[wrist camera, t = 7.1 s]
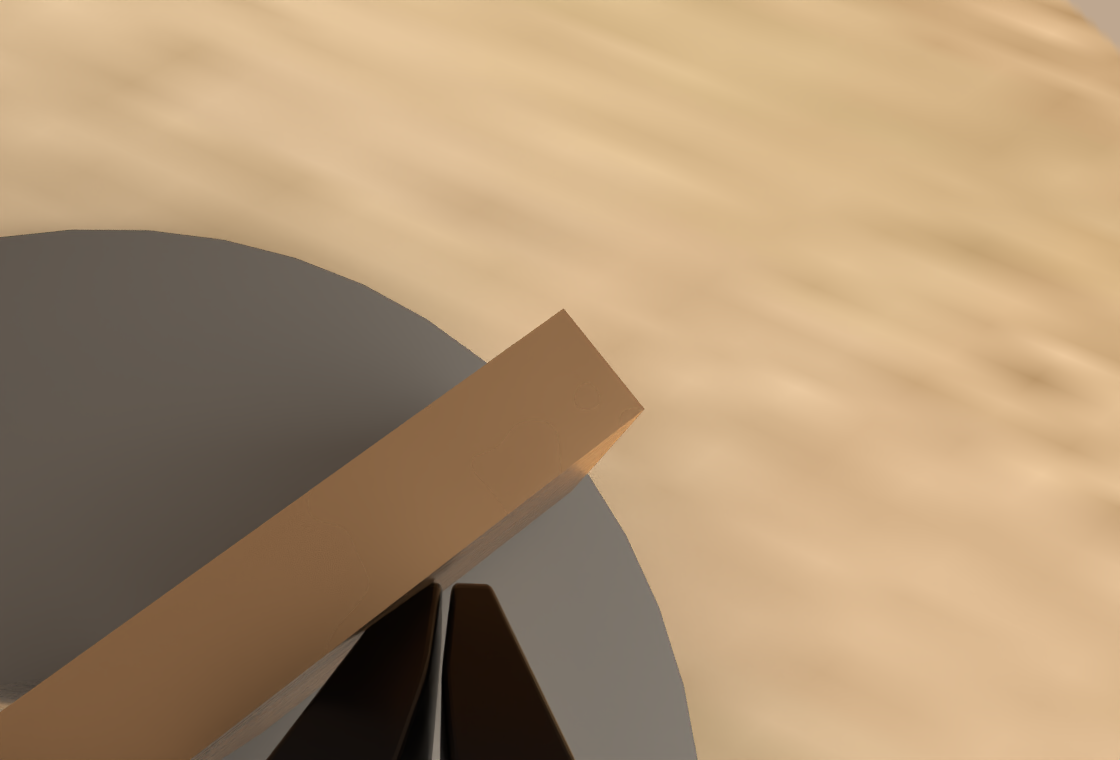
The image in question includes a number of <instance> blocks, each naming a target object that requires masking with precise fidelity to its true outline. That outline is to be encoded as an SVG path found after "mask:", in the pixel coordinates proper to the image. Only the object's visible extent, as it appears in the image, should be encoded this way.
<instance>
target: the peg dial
mask: <svg viewBox="0 0 1120 760" xmlns="http://www.w3.org/2000/svg"><path fill="white" fill-rule="evenodd" d="M643 410H644V408H643V407H642V405H641V404H640V403H639V402H638V400H637V399H636V398H635V397H634V396H633V394H632V393H631V392H630V391H629V389H628V388H627V387H626V386H625V384H624V383H623V382H622V381H621V379H620V378H619V377H618V376H617V374H616V373H615V372H614V371H613V369H612V368H611V367H610V366H609V364H608V363H607V362H606V361H605V359H604V358H603V357H602V356H601V354H600V353H599V352H598V351H597V350H596V348H595V347H594V346H593V345H592V343H591V342H590V341H589V340H588V338H587V337H586V336H585V335H584V333H583V332H582V331H581V330H580V328H579V327H578V326H577V325H576V323H575V322H574V321H573V320H572V318H571V317H570V316H569V315H568V313H567V312H566V311H565V310H564V309H562V310H561V311H560V312H558V313H557V314H555V315H554V316H553V317H551V318H550V319H548V320H547V321H546V322H544V323H543V324H541V325H540V326H539V327H537V328H536V329H534V330H533V331H532V332H530V333H529V334H527V335H526V336H525V337H523V338H522V339H520V340H519V341H518V342H516V343H515V344H513V345H512V346H511V347H509V348H508V349H506V350H505V351H504V352H502V353H501V354H499V355H498V356H497V357H495V358H494V359H492V360H491V361H490V362H488V363H487V364H485V365H484V366H483V367H481V368H480V369H478V370H477V371H476V372H474V373H473V374H471V375H470V376H469V377H467V378H466V379H465V380H463V381H462V382H460V383H459V384H458V385H456V386H455V387H453V388H452V389H451V390H449V391H448V392H446V393H445V394H444V395H442V396H441V397H439V398H438V399H437V400H435V401H434V402H432V403H431V404H430V405H428V406H427V407H425V408H424V409H423V410H421V411H420V412H418V413H417V414H416V415H414V416H413V417H411V418H410V419H409V420H407V421H406V422H404V423H403V424H402V425H400V426H399V427H397V428H396V429H395V430H393V431H392V432H390V433H389V434H388V435H386V436H385V437H383V438H382V439H381V440H379V441H378V442H376V443H375V444H374V445H372V446H371V447H369V448H368V449H367V450H365V451H364V452H363V453H361V454H360V455H358V456H357V457H356V458H354V459H353V460H351V461H350V462H349V463H347V464H346V465H344V466H343V467H342V468H340V469H339V470H337V471H336V472H335V473H333V474H332V475H330V476H329V477H328V478H326V479H325V480H323V481H322V482H321V483H319V484H318V485H316V486H315V487H314V488H312V489H311V490H309V491H308V492H307V493H305V494H304V495H302V496H301V497H300V498H298V499H297V500H295V501H294V502H293V503H291V504H290V505H288V506H287V507H286V508H284V509H283V510H281V511H280V512H279V513H277V514H276V515H274V516H273V517H272V518H270V519H269V520H267V521H266V522H265V523H263V524H262V525H261V526H259V527H258V528H256V529H255V530H254V531H252V532H251V533H249V534H248V535H247V536H245V537H244V538H242V539H241V540H240V541H238V542H237V543H235V544H234V545H233V546H231V547H230V548H228V549H227V550H226V551H224V552H223V553H221V554H220V555H219V556H217V557H216V558H214V559H213V560H212V561H210V562H209V563H207V564H206V565H205V566H203V567H202V568H200V569H199V570H198V571H196V572H195V573H193V574H192V575H191V576H189V577H188V578H186V579H185V580H184V581H182V582H181V583H179V584H178V585H177V586H175V587H174V588H172V589H171V590H170V591H168V592H167V593H165V594H164V595H163V596H161V597H160V598H159V599H157V600H156V601H154V602H153V603H152V604H150V605H149V606H147V607H146V608H145V609H143V610H142V611H140V612H139V613H138V614H136V615H135V616H133V617H132V618H131V619H129V620H128V621H126V622H125V623H124V624H122V625H121V626H119V627H118V628H117V629H115V630H114V631H112V632H111V633H110V634H108V635H107V636H105V637H104V638H103V639H101V640H100V641H98V642H97V643H96V644H94V645H93V646H91V647H90V648H89V649H87V650H86V651H84V652H83V653H82V654H80V655H79V656H77V657H76V658H75V659H73V660H72V661H70V662H69V663H68V664H66V665H65V666H63V667H62V668H61V669H59V670H58V671H57V672H55V673H54V674H52V675H51V676H50V677H48V678H47V679H41V680H29V681H22V682H17V683H12V684H7V685H1V686H0V760H221V759H223V758H224V757H226V756H227V755H229V754H230V753H232V752H233V751H235V750H237V749H238V748H240V747H241V746H243V745H244V744H246V743H247V742H249V741H250V740H252V739H254V738H255V737H257V736H258V735H260V734H261V733H262V732H264V731H265V730H266V729H268V728H269V727H270V726H271V725H273V724H274V723H275V722H276V721H278V720H279V719H280V718H282V717H283V716H284V715H285V714H287V713H288V712H289V711H291V710H292V709H293V708H294V707H296V706H297V705H298V704H300V703H301V702H302V701H303V700H305V699H306V698H307V697H309V696H310V695H311V694H312V693H314V692H315V691H316V690H317V689H319V688H320V687H321V686H323V685H324V684H325V682H326V681H327V680H328V678H329V677H330V676H331V674H332V673H333V672H334V671H335V669H336V668H337V667H338V665H339V664H340V663H341V661H342V660H343V659H344V658H345V656H346V655H347V654H348V652H349V651H350V650H351V648H352V647H353V646H354V645H355V643H356V642H357V641H358V639H359V638H360V637H361V635H362V634H363V633H364V632H365V630H366V629H368V628H369V627H370V626H372V625H373V624H374V623H376V622H377V621H379V620H380V619H381V618H383V617H384V616H386V615H387V614H388V613H390V612H391V611H393V610H394V609H395V608H397V607H398V606H400V605H401V604H402V603H404V602H405V601H407V600H408V599H409V598H411V597H412V596H414V595H415V594H417V593H418V592H419V591H421V590H422V589H424V588H425V587H426V586H428V585H429V584H431V583H432V582H436V583H439V584H440V585H441V587H442V592H443V591H444V590H446V589H447V588H448V587H449V586H451V585H452V584H453V583H455V582H456V581H457V580H458V579H460V578H461V577H462V576H464V575H465V574H466V573H467V572H469V571H470V570H471V569H473V568H474V567H475V566H476V565H478V564H479V563H480V562H481V561H483V560H484V559H485V558H487V557H488V556H489V555H490V554H492V553H493V552H494V551H496V550H497V549H498V548H499V547H501V546H502V545H503V544H505V543H506V542H507V541H508V540H510V539H511V538H512V537H514V536H515V535H516V534H517V533H519V532H520V531H521V530H522V529H524V528H525V527H526V526H528V525H529V524H530V523H531V522H533V521H534V520H535V519H537V518H538V517H539V516H540V515H542V514H543V513H544V512H546V511H547V510H548V509H549V508H551V507H552V506H553V505H555V504H556V503H557V502H558V501H560V500H561V499H562V498H564V497H565V496H566V495H567V494H569V493H570V492H571V491H572V490H573V489H574V488H575V487H576V486H577V485H578V484H579V482H580V481H581V480H582V479H583V478H584V477H585V476H586V474H587V473H588V472H589V471H590V470H591V469H592V468H593V467H594V465H595V464H596V463H597V462H598V461H599V460H600V459H601V458H602V456H603V455H604V454H605V453H606V452H607V451H608V450H609V449H610V447H611V446H612V445H613V444H614V443H615V442H616V441H617V440H618V438H619V437H620V436H621V435H622V434H623V433H624V432H625V431H626V429H627V428H628V427H629V426H630V425H631V424H632V423H633V422H634V420H635V419H636V418H637V417H638V416H639V415H640V414H641V412H642V411H643Z"/></svg>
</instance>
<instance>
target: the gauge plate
mask: <svg viewBox="0 0 1120 760" xmlns="http://www.w3.org/2000/svg"><path fill="white" fill-rule="evenodd" d="M485 364H487V363H486V362H485V361H483V360H482V359H481V358H479V357H478V356H477V355H475V354H474V353H472V352H471V351H470V350H468V349H467V348H466V347H464V346H463V345H461V344H460V343H459V342H457V341H456V340H455V339H453V338H452V337H450V336H449V335H448V334H446V333H445V332H444V331H442V330H441V329H439V328H438V327H437V326H435V325H434V324H433V323H431V322H430V321H428V320H427V319H425V318H424V317H422V316H420V315H418V314H416V313H414V312H413V311H411V310H409V309H407V308H405V307H403V306H402V305H400V304H398V303H396V302H394V301H392V300H391V299H389V298H387V297H385V296H383V295H381V294H380V293H378V292H376V291H374V290H372V289H370V288H368V287H367V286H365V285H363V284H360V283H358V282H355V281H353V280H350V279H348V278H345V277H343V276H340V275H337V274H335V273H332V272H330V271H327V270H325V269H322V268H319V267H317V266H314V265H312V264H309V263H307V262H304V261H302V260H299V259H296V258H293V257H289V256H285V255H281V254H277V253H273V252H269V251H265V250H261V249H257V248H253V247H250V246H246V245H242V244H238V243H234V242H230V241H226V240H220V239H212V238H204V237H196V236H188V235H181V234H173V233H165V232H157V231H147V230H66V231H56V232H47V233H37V234H28V235H18V236H9V237H0V686H1V685H7V684H12V683H17V682H22V681H29V680H41V679H47V678H48V677H50V676H51V675H52V674H54V673H55V672H57V671H58V670H59V669H61V668H62V667H63V666H65V665H66V664H68V663H69V662H70V661H72V660H73V659H75V658H76V657H77V656H79V655H80V654H82V653H83V652H84V651H86V650H87V649H89V648H90V647H91V646H93V645H94V644H96V643H97V642H98V641H100V640H101V639H103V638H104V637H105V636H107V635H108V634H110V633H111V632H112V631H114V630H115V629H117V628H118V627H119V626H121V625H122V624H124V623H125V622H126V621H128V620H129V619H131V618H132V617H133V616H135V615H136V614H138V613H139V612H140V611H142V610H143V609H145V608H146V607H147V606H149V605H150V604H152V603H153V602H154V601H156V600H157V599H159V598H160V597H161V596H163V595H164V594H165V593H167V592H168V591H170V590H171V589H172V588H174V587H175V586H177V585H178V584H179V583H181V582H182V581H184V580H185V579H186V578H188V577H189V576H191V575H192V574H193V573H195V572H196V571H198V570H199V569H200V568H202V567H203V566H205V565H206V564H207V563H209V562H210V561H212V560H213V559H214V558H216V557H217V556H219V555H220V554H221V553H223V552H224V551H226V550H227V549H228V548H230V547H231V546H233V545H234V544H235V543H237V542H238V541H240V540H241V539H242V538H244V537H245V536H247V535H248V534H249V533H251V532H252V531H254V530H255V529H256V528H258V527H259V526H261V525H262V524H263V523H265V522H266V521H267V520H269V519H270V518H272V517H273V516H274V515H276V514H277V513H279V512H280V511H281V510H283V509H284V508H286V507H287V506H288V505H290V504H291V503H293V502H294V501H295V500H297V499H298V498H300V497H301V496H302V495H304V494H305V493H307V492H308V491H309V490H311V489H312V488H314V487H315V486H316V485H318V484H319V483H321V482H322V481H323V480H325V479H326V478H328V477H329V476H330V475H332V474H333V473H335V472H336V471H337V470H339V469H340V468H342V467H343V466H344V465H346V464H347V463H349V462H350V461H351V460H353V459H354V458H356V457H357V456H358V455H360V454H361V453H363V452H364V451H365V450H367V449H368V448H369V447H371V446H372V445H374V444H375V443H376V442H378V441H379V440H381V439H382V438H383V437H385V436H386V435H388V434H389V433H390V432H392V431H393V430H395V429H396V428H397V427H399V426H400V425H402V424H403V423H404V422H406V421H407V420H409V419H410V418H411V417H413V416H414V415H416V414H417V413H418V412H420V411H421V410H423V409H424V408H425V407H427V406H428V405H430V404H431V403H432V402H434V401H435V400H437V399H438V398H439V397H441V396H442V395H444V394H445V393H446V392H448V391H449V390H451V389H452V388H453V387H455V386H456V385H458V384H459V383H460V382H462V381H463V380H465V379H466V378H467V377H469V376H470V375H471V374H473V373H474V372H476V371H477V370H478V369H480V368H481V367H483V366H484V365H485ZM456 583H475V584H488V585H489V586H491V587H492V589H493V590H494V592H495V594H496V596H497V598H498V600H499V602H500V604H501V607H502V609H503V611H504V613H505V615H506V617H507V619H508V621H509V623H510V625H511V627H512V629H513V631H514V633H515V636H516V638H517V640H518V642H519V644H520V646H521V648H522V650H523V652H524V654H525V656H526V658H527V660H528V663H529V665H530V667H531V669H532V671H533V673H534V675H535V677H536V679H537V681H538V683H539V685H540V687H541V690H542V692H543V694H544V696H545V698H546V700H547V702H548V704H549V706H550V708H551V710H552V712H553V714H554V717H555V719H556V721H557V723H558V725H559V727H560V729H561V731H562V733H563V735H564V737H565V739H566V741H567V744H568V746H569V748H570V750H571V752H572V754H573V756H574V758H575V760H697V754H696V749H695V744H694V738H693V733H692V728H691V722H690V717H689V712H688V706H687V701H686V696H685V690H684V685H683V682H682V679H681V676H680V673H679V669H678V666H677V663H676V660H675V657H674V654H673V650H672V647H671V644H670V641H669V638H668V635H667V631H666V628H665V625H664V622H663V619H662V616H661V612H660V609H659V606H658V604H657V602H656V600H655V598H654V595H653V593H652V591H651V589H650V587H649V585H648V582H647V580H646V578H645V576H644V574H643V571H642V569H641V567H640V565H639V563H638V561H637V558H636V556H635V554H634V552H633V550H632V547H631V545H630V543H629V541H628V539H627V536H626V534H625V533H624V531H623V530H622V528H621V526H620V525H619V523H618V522H617V520H616V518H615V517H614V515H613V514H612V512H611V510H610V509H609V507H608V505H607V504H606V502H605V501H604V499H603V497H602V496H601V494H600V493H599V491H598V489H597V488H596V486H595V485H594V483H593V481H592V480H591V478H590V476H589V475H588V473H587V474H586V476H585V477H584V478H583V479H582V480H581V481H580V482H579V484H578V485H577V486H576V487H575V488H574V489H573V490H572V491H571V492H570V493H569V494H567V495H566V496H565V497H564V498H562V499H561V500H560V501H558V502H557V503H556V504H555V505H553V506H552V507H551V508H549V509H548V510H547V511H546V512H544V513H543V514H542V515H540V516H539V517H538V518H537V519H535V520H534V521H533V522H531V523H530V524H529V525H528V526H526V527H525V528H524V529H522V530H521V531H520V532H519V533H517V534H516V535H515V536H514V537H512V538H511V539H510V540H508V541H507V542H506V543H505V544H503V545H502V546H501V547H499V548H498V549H497V550H496V551H494V552H493V553H492V554H490V555H489V556H488V557H487V558H485V559H484V560H483V561H481V562H480V563H479V564H478V565H476V566H475V567H474V568H473V569H471V570H470V571H469V572H467V573H466V574H465V575H464V576H462V577H461V578H460V579H458V580H457V581H456V582H455V583H453V584H452V585H451V586H449V587H448V588H447V589H446V590H444V591H443V592H442V641H441V659H440V671H439V683H438V695H437V707H436V719H435V730H434V742H433V754H432V760H440V726H441V678H442V662H443V653H444V645H445V636H446V628H447V619H448V611H449V602H450V594H451V589H452V587H453V585H455V584H456ZM321 687H322V686H321ZM321 687H320V688H319V689H317V690H316V691H315V692H314V693H312V694H311V695H310V696H309V697H307V698H306V699H305V700H303V701H302V702H301V703H300V704H298V705H297V706H296V707H294V708H293V709H292V710H291V711H289V712H288V713H287V714H285V715H284V716H283V717H282V718H280V719H279V720H278V721H276V722H275V723H274V724H273V725H271V726H270V727H269V728H268V729H266V730H265V731H264V732H262V733H261V734H260V735H258V736H257V737H255V738H254V739H252V740H250V741H249V742H247V743H246V744H244V745H243V746H241V747H240V748H238V749H237V750H235V751H233V752H232V753H230V754H229V755H227V756H226V757H224V758H223V759H221V760H266V759H267V758H268V756H269V755H270V754H271V753H272V751H273V750H274V749H275V747H276V746H277V745H278V743H279V742H280V741H281V740H282V738H283V737H284V736H285V734H286V733H287V732H288V730H289V729H290V728H291V727H292V725H293V724H294V723H295V721H296V720H297V719H298V717H299V716H300V715H301V714H302V712H303V711H304V710H305V708H306V707H307V706H308V704H309V703H310V702H311V700H312V699H313V698H314V697H315V695H316V694H317V693H318V691H319V690H320V689H321Z"/></svg>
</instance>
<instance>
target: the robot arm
mask: <svg viewBox="0 0 1120 760" xmlns="http://www.w3.org/2000/svg"><path fill="white" fill-rule="evenodd" d="M441 641H442V587H441V585H440V584H439V583H436V582H432V583H431V584H429V585H428V586H426V587H425V588H424V589H422V590H421V591H419V592H418V593H417V594H415V595H414V596H412V597H411V598H409V599H408V600H407V601H405V602H404V603H402V604H401V605H400V606H398V607H397V608H395V609H394V610H393V611H391V612H390V613H388V614H387V615H386V616H384V617H383V618H381V619H380V620H379V621H377V622H376V623H374V624H373V625H372V626H370V627H369V628H368V629H366V630H365V632H364V633H363V634H362V635H361V637H360V638H359V639H358V641H357V642H356V643H355V645H354V646H353V647H352V648H351V650H350V651H349V652H348V654H347V655H346V656H345V658H344V659H343V660H342V661H341V663H340V664H339V665H338V667H337V668H336V669H335V671H334V672H333V673H332V674H331V676H330V677H329V678H328V680H327V681H326V682H325V684H324V685H323V686H322V687H321V689H320V690H319V691H318V693H317V694H316V695H315V697H314V698H313V699H312V700H311V702H310V703H309V704H308V706H307V707H306V708H305V710H304V711H303V712H302V714H301V715H300V716H299V717H298V719H297V720H296V721H295V723H294V724H293V725H292V727H291V728H290V729H289V730H288V732H287V733H286V734H285V736H284V737H283V738H282V740H281V741H280V742H279V743H278V745H277V746H276V747H275V749H274V750H273V751H272V753H271V754H270V755H269V756H268V758H267V759H266V760H432V754H433V742H434V730H435V719H436V707H437V695H438V683H439V671H440V659H441ZM440 760H575V758H574V756H573V754H572V752H571V750H570V748H569V746H568V744H567V741H566V739H565V737H564V735H563V733H562V731H561V729H560V727H559V725H558V723H557V721H556V719H555V717H554V714H553V712H552V710H551V708H550V706H549V704H548V702H547V700H546V698H545V696H544V694H543V692H542V690H541V687H540V685H539V683H538V681H537V679H536V677H535V675H534V673H533V671H532V669H531V667H530V665H529V663H528V660H527V658H526V656H525V654H524V652H523V650H522V648H521V646H520V644H519V642H518V640H517V638H516V636H515V633H514V631H513V629H512V627H511V625H510V623H509V621H508V619H507V617H506V615H505V613H504V611H503V609H502V607H501V604H500V602H499V600H498V598H497V596H496V594H495V592H494V590H493V589H492V587H491V586H489V585H488V584H475V583H456V584H455V585H453V587H452V589H451V594H450V602H449V611H448V619H447V628H446V636H445V645H444V653H443V662H442V678H441V726H440Z"/></svg>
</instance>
